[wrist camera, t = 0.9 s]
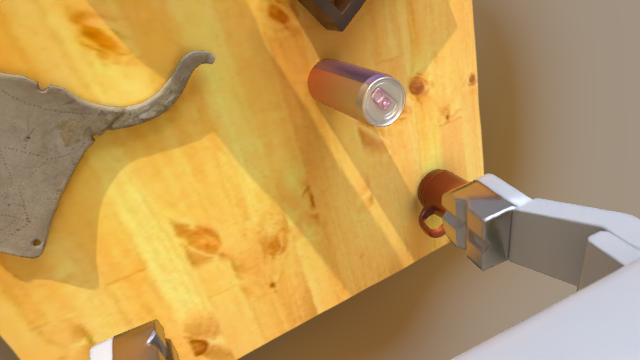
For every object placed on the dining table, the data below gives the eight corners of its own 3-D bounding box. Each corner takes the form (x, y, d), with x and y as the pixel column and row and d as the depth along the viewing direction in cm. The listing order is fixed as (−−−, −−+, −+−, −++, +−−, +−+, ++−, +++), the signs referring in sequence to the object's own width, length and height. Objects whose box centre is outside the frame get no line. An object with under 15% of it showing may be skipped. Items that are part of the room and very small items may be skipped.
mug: (443, 153, 76) (487, 173, 67) (457, 189, 80) (500, 212, 72) (390, 195, 74) (428, 222, 65) (407, 229, 79) (446, 258, 70)
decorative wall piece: (133, 263, 59) (214, 51, 54) (135, 276, 57) (221, 54, 51) (-186, 215, 43) (-116, -95, 38) (-203, 229, 41) (-131, -101, 35)
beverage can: (325, 48, 60) (387, 63, 47) (351, 78, 63) (416, 99, 50) (297, 82, 60) (351, 106, 47) (324, 110, 63) (382, 139, 50)
